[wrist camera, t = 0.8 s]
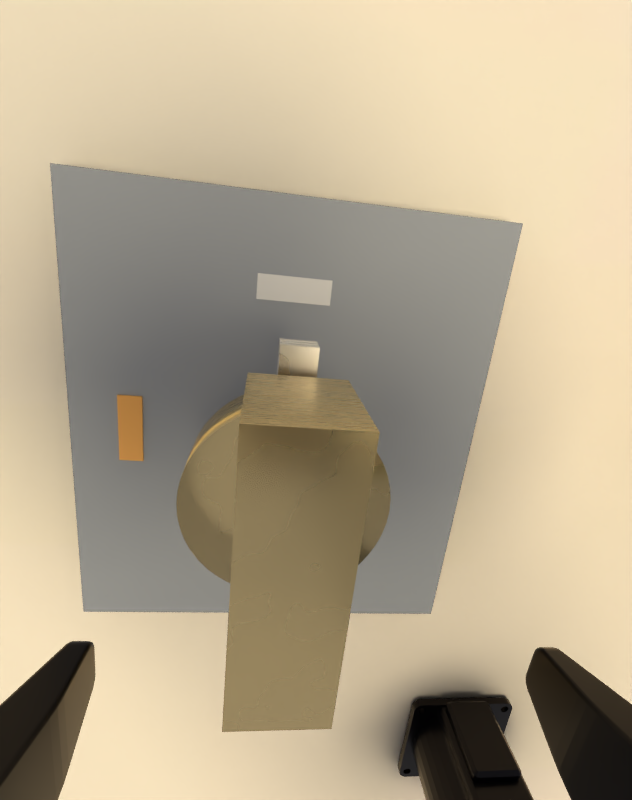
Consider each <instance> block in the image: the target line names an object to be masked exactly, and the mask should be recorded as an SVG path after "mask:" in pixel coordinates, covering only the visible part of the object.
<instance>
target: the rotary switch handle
mask: <svg viewBox="0 0 632 800" xmlns="http://www.w3.org/2000/svg"><path fill="white" fill-rule="evenodd" d="M319 352H320V347H319V345H318V343H317V341H307V340H296V339H284V338H280V339H279V352H278V364H277V375H274V374H261V373H248V374H247V380H246V386H245V392H244V395H242V396H240V397H238V398H236V399H234V400H232V401H230V402H229V403H227V404H226V405H225V406H223V407H222V408H220V409H219V410H218V411H217V412H216V413H215V414H214V415H213V416H212V417H211V418H210V419H209V420H208V421H207V422H206V424H205V425H204V426H203V427H202V429H201V431H200V432H199V434H198V436H197V438H196V440H195V442H194V445H193V447H192V450H191V452H190V455H189V457H188V460H187V463H186V465H185V468H184V471H183V473H182V476H181V478H180V482H179V486H178V490H177V500H176V508H177V518H178V523H179V527H180V530H181V533H182V535H183V538H184V540H185V542H186V544H187V545H188V547H189V549H190V551H191V552H192V553H193V554H194V556H195V557H196V558H197V559H198V561H199V562H200V563H201V564H203V565H204V566H205V567H206V568H207V569H208V570H209V571H211V572H212V573H213V574H215V575H216V576H217V577H219V578H221V579H223V580H224V581H226V582H228V583H230V599H229V617H228V635H227V653H226V671H225V690H224V708H223V726H222V732H234V731H270V730H306V729H331V727H332V721H333V715H334V709H335V703H336V697H337V691H338V685H339V679H340V672H341V666H342V660H343V654H344V648H345V642H346V636H347V630H348V624H349V617H350V611H351V605H352V599H353V593H354V587H355V581H356V575H357V569H358V565H359V564H360V563H361V562H362V561H363V560H364V559H365V558H366V557H367V556H368V555H369V553H370V552H371V551H372V549H373V548H374V547H375V545H376V544H377V542H378V540H379V539H380V537H381V535H382V533H383V530H384V528H385V526H386V523H387V519H388V515H389V511H390V501H391V496H390V484H389V479H388V475H387V472H386V469H385V467H384V464H383V462H382V460H381V458H380V456H379V455H378V453H377V446H378V440H379V434H380V432H379V430H378V429H377V427H376V425H375V424H374V422H373V420H372V419H371V417H370V415H369V414H368V412H367V410H366V409H365V407H364V405H363V404H362V402H361V400H360V399H359V397H358V395H357V393H356V392H355V390H354V388H353V387H352V385H351V383H350V382H349V380H341V379H328V378H317V370H318V361H319Z"/></svg>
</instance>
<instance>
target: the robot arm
mask: <svg viewBox="0 0 632 800" xmlns="http://www.w3.org/2000/svg"><path fill="white" fill-rule="evenodd" d="M94 681H95V653H94V645H93V643H92V642H90V641H72V642H69V643H68V644H66V645H65V646H64V647H63V648H62V649H61V650H60V651H59V652H57V653H56V654H55V655H54V656H53V657H52V658H51V659H50V660H49V661H48V662H47V663H46V664H44V665H43V666H42V667H41V668H40V669H39V670H38V671H37V672H36V673H35V674H34V675H32V676H31V677H30V678H29V679H28V680H27V681H26V682H25V683H24V684H23V685H22V686H20V687H19V688H18V689H17V690H16V691H15V692H14V693H13V694H12V695H11V696H10V697H9V698H7V699H6V700H5V701H4V702H3V703H2V704H1V705H0V800H58V798H59V795H60V792H61V790H62V787H63V784H64V781H65V778H66V775H67V772H68V769H69V766H70V762H71V759H72V756H73V752H74V749H75V746H76V742H77V739H78V736H79V733H80V729H81V726H82V723H83V719H84V716H85V713H86V710H87V706H88V703H89V700H90V696H91V693H92V690H93V686H94ZM526 685H527V689H528V692H529V695H530V697H531V700H532V703H533V705H534V708H535V711H536V713H537V716H538V719H539V721H540V724H541V727H542V729H543V732H544V735H545V738H546V740H547V743H548V746H549V748H550V751H551V754H552V756H553V759H554V761H555V764H556V766H557V769H558V771H559V774H560V776H561V778H562V780H563V783H564V785H565V787H566V789H567V791H568V793H569V796H570V798H571V800H632V704H630V703H629V702H628V701H626V700H625V699H624V698H622V697H621V696H620V695H618V694H617V693H616V692H615V691H613V690H612V689H611V688H609V687H608V686H607V685H605V684H604V683H603V682H601V681H600V680H599V679H597V678H596V677H595V676H593V675H592V674H591V673H589V672H588V671H587V670H585V669H584V668H583V667H582V666H580V665H579V664H578V663H576V662H575V661H574V660H572V659H571V658H570V657H568V656H567V655H566V654H564V653H563V652H562V651H560V650H559V649H557V648H553V647H539V648H537V649H536V650H535V652H534V654H533V657H532V660H531V662H530V665H529V668H528V671H527V674H526ZM511 710H512V706H511V704H510V702H509V700H508V699H507V698H458V699H420V700H417V701H415V702H414V703H413V705H412V709H411V713H410V717H409V721H408V725H407V729H406V734H405V738H404V742H403V746H402V750H401V755H400V759H399V763H398V769H399V773H400V775H402V776H419V777H420V780H421V784H422V787H423V791H424V794H425V798H426V800H534V799H533V797H532V795H531V793H530V791H529V789H528V787H527V785H526V783H525V781H524V779H523V776H522V774H521V770H520V768H519V765H518V763H517V761H516V759H515V757H514V755H513V753H512V751H511V749H510V747H509V745H508V743H507V741H506V738H505V736H504V731H505V728H506V725H507V722H508V719H509V716H510V713H511Z"/></svg>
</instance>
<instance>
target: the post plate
mask: <svg viewBox="0 0 632 800" xmlns="http://www.w3.org/2000/svg"><path fill="white" fill-rule="evenodd" d="M50 168H51V181H52V194H53V208H54V221H55V235H56V248H57V261H58V275H59V288H60V302H61V315H62V328H63V342H64V355H65V369H66V382H67V395H68V409H69V422H70V436H71V449H72V462H73V476H74V489H75V503H76V516H77V529H78V543H79V556H80V570H81V583H82V596H83V610H84V612H229V599H230V583H228V582H226V581H224V580H223V579H221V578H219V577H217V576H216V575H215V574H213V573H212V572H211V571H209V570H208V569H207V568H206V567H205V566H204V565H203V564H201V563H200V562H199V561H198V559H197V558H196V557H195V556H194V554H193V553H192V552H191V551H190V549H189V547H188V545H187V544H186V542H185V540H184V538H183V535H182V533H181V530H180V527H179V523H178V518H177V508H176V500H177V490H178V486H179V482H180V478H181V476H182V473H183V471H184V468H185V465H186V463H187V460H188V457H189V455H190V452H191V450H192V447H193V445H194V442H195V440H196V438H197V436H198V434H199V432H200V431H201V429H202V427H203V426H204V425H205V424H206V422H207V421H208V420H209V419H210V418H211V417H212V416H213V415H214V414H215V413H216V412H217V411H218V410H219V409H220V408H222V407H223V406H225V405H226V404H227V403H229V402H230V401H232V400H234V399H236V398H238V397H240V396H242V395H244V392H245V386H246V380H247V374H248V373H261V374H274V375H277V364H278V352H279V339H280V338H284V339H296V340H307V341H317V343H318V345H319V347H320V352H319V361H318V370H317V378H328V379H341V380H349V382H350V383H351V385H352V387H353V388H354V390H355V392H356V393H357V395H358V397H359V399H360V400H361V402H362V404H363V405H364V407H365V409H366V410H367V412H368V414H369V415H370V417H371V419H372V420H373V422H374V424H375V425H376V427H377V429H378V430H379V432H380V434H379V440H378V446H377V453H378V455H379V456H380V458H381V460H382V462H383V464H384V467H385V469H386V472H387V475H388V479H389V484H390V496H391V501H390V511H389V515H388V519H387V523H386V526H385V528H384V530H383V533H382V535H381V537H380V539H379V540H378V542H377V544H376V545H375V547H374V548H373V549H372V551H371V552H370V553H369V555H368V556H367V557H366V558H365V559H364V560H363V561H362V562H361V563H360V564H359V565H358V569H357V575H356V581H355V587H354V593H353V599H352V605H351V611H350V613H403V614H431V611H432V607H433V602H434V598H435V594H436V590H437V585H438V581H439V577H440V573H441V568H442V564H443V560H444V556H445V551H446V547H447V543H448V539H449V535H450V530H451V526H452V522H453V518H454V513H455V509H456V505H457V501H458V496H459V492H460V488H461V484H462V479H463V475H464V471H465V467H466V462H467V458H468V454H469V450H470V445H471V441H472V437H473V433H474V429H475V424H476V420H477V416H478V412H479V407H480V403H481V399H482V395H483V390H484V386H485V382H486V378H487V373H488V369H489V365H490V361H491V356H492V352H493V348H494V344H495V339H496V335H497V331H498V327H499V323H500V318H501V314H502V310H503V306H504V301H505V297H506V293H507V289H508V284H509V280H510V276H511V272H512V267H513V263H514V259H515V255H516V250H517V246H518V242H519V238H520V233H521V229H522V225H523V224H522V223H514V222H506V221H499V220H491V219H483V218H475V217H467V216H459V215H452V214H444V213H436V212H428V211H420V210H412V209H405V208H397V207H389V206H381V205H373V204H365V203H358V202H350V201H342V200H334V199H326V198H319V197H311V196H303V195H295V194H287V193H279V192H272V191H264V190H256V189H248V188H240V187H232V186H225V185H217V184H209V183H201V182H193V181H185V180H178V179H170V178H162V177H154V176H146V175H138V174H131V173H123V172H115V171H107V170H99V169H91V168H84V167H76V166H68V165H60V164H52V163H50Z"/></svg>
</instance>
